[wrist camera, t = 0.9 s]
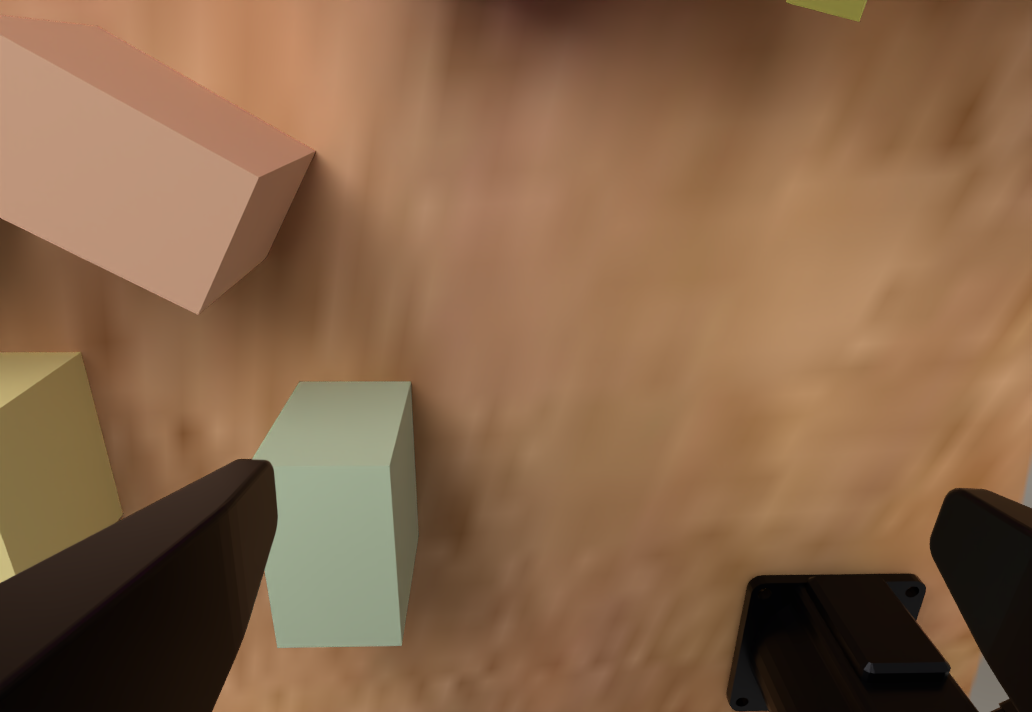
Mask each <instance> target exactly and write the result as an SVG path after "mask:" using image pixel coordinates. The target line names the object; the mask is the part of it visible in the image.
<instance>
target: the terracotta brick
mask: <svg viewBox="0 0 1032 712" xmlns="http://www.w3.org/2000/svg"><path fill="white" fill-rule="evenodd" d="M315 152H316V151H315V150H313V149H312V148H310V147H308V146H306V145H305V144H303V143H301V142H299V141H298V140H296V139H294V138H292V137H291V136H289V135H287V134H285V133H284V132H282V131H280V130H279V129H277V128H275V127H273V126H272V125H270V124H268V123H266V122H265V121H263V120H261V119H259V118H258V117H256V116H254V115H252V114H251V113H249V112H247V111H245V110H244V109H242V108H240V107H238V106H237V105H235V104H233V103H231V102H230V101H228V100H226V99H224V98H223V97H221V96H219V95H217V94H216V93H214V92H212V91H210V90H209V89H207V88H205V87H203V86H202V85H200V84H198V83H196V82H195V81H193V80H191V79H189V78H188V77H186V76H184V75H182V74H181V73H179V72H177V71H175V70H174V69H172V68H170V67H169V66H167V65H165V64H163V63H162V62H160V61H158V60H156V59H155V58H153V57H151V56H149V55H148V54H146V53H144V52H142V51H141V50H139V49H137V48H135V47H134V46H132V45H130V44H128V43H127V42H125V41H123V40H121V39H120V38H118V37H116V36H114V35H113V34H111V33H109V32H107V31H106V30H104V29H102V28H100V27H99V26H94V25H85V24H76V23H67V22H58V21H49V20H40V19H31V18H22V17H13V16H4V15H0V218H1V219H3V220H5V221H8V222H10V223H12V224H14V225H16V226H18V227H20V228H22V229H24V230H26V231H28V232H30V233H32V234H34V235H36V236H38V237H40V238H42V239H44V240H46V241H48V242H50V243H52V244H54V245H56V246H58V247H61V248H63V249H65V250H67V251H69V252H71V253H73V254H75V255H77V256H79V257H81V258H83V259H85V260H87V261H89V262H91V263H93V264H95V265H97V266H99V267H101V268H103V269H105V270H107V271H109V272H111V273H113V274H116V275H118V276H120V277H122V278H124V279H126V280H128V281H130V282H132V283H134V284H136V285H138V286H140V287H142V288H144V289H146V290H148V291H150V292H152V293H154V294H156V295H158V296H160V297H162V298H164V299H166V300H168V301H171V302H173V303H175V304H177V305H179V306H181V307H183V308H185V309H187V310H189V311H191V312H193V313H195V314H197V315H199V314H200V313H201V312H202V311H203V310H205V309H206V308H207V307H208V306H209V305H211V304H212V303H213V302H214V301H215V300H217V299H218V298H219V297H220V296H221V295H223V294H224V293H225V292H226V291H227V290H228V289H230V288H231V287H232V286H233V285H234V284H236V283H237V282H238V281H239V280H240V279H242V278H243V277H244V276H245V275H246V274H248V273H249V272H250V271H251V270H252V269H254V268H255V267H256V266H257V265H258V264H260V263H261V262H262V261H263V260H264V259H265V258H266V257H267V255H268V253H269V250H270V248H271V246H272V244H273V242H274V240H275V238H276V235H277V233H278V231H279V229H280V227H281V225H282V223H283V220H284V218H285V216H286V214H287V212H288V210H289V208H290V205H291V203H292V201H293V199H294V197H295V195H296V192H297V190H298V188H299V186H300V184H301V182H302V180H303V177H304V175H305V173H306V171H307V169H308V167H309V165H310V162H311V160H312V158H313V156H314V154H315Z"/></svg>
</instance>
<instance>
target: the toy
mask: <svg viewBox="0 0 1032 712" xmlns="http://www.w3.org/2000/svg"><path fill="white" fill-rule="evenodd" d="M866 2H867V0H786V3H789V4H793V5H797V6H801V7H804V8H808V9H812V10H816V11H820V12H823V13H827V14H831V15H835V16H839V17H842V18H846V19H850V20H854V21H858V22H859V21H860V19H861V16H862V13H863V10H864V8H865V5H866Z"/></svg>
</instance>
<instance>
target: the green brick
mask: <svg viewBox="0 0 1032 712" xmlns="http://www.w3.org/2000/svg"><path fill="white" fill-rule="evenodd" d="M252 459H257V460H268V461H269V462H270V463H271V464H272V466H273V469H274V475H275V487H276V498H277V510H278V523H277V529H276V534H275V537H274V540H273V544H272V547H271V550H270V554H269V557H268V560H267V564H266V567H265V576H266V582H267V588H268V594H269V600H270V606H271V612H272V618H273V624H274V630H275V636H276V642H277V648H298V647H358V646H402V641H403V635H404V628H405V622H406V615H407V609H408V602H409V596H410V589H411V583H412V576H413V570H414V563H415V557H416V550H417V544H418V537H419V530H418V511H417V491H416V472H415V452H414V433H413V413H412V394H411V382H299V383H298V385H297V386H296V388H295V390H294V391H293V393H292V394H291V396H290V398H289V399H288V401H287V403H286V404H285V406H284V408H283V409H282V411H281V412H280V414H279V416H278V417H277V419H276V421H275V422H274V424H273V426H272V427H271V429H270V430H269V432H268V434H267V435H266V437H265V439H264V440H263V442H262V443H261V445H260V447H259V448H258V450H257V452H256V453H255V455H254V457H253V458H252Z"/></svg>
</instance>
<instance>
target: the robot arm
mask: <svg viewBox="0 0 1032 712" xmlns="http://www.w3.org/2000/svg"><path fill="white" fill-rule="evenodd" d="M277 523H278V510H277V498H276V487H275V475H274V469H273V466H272V464H271V463H270V462H269V461H268V460H257V459H238V460H235V461H233V462H231V463H229V464H228V465H226V466H224V467H222V468H220V469H218V470H216V471H214V472H212V473H210V474H208V475H206V476H205V477H203V478H201V479H199V480H197V481H195V482H193V483H191V484H189V485H187V486H185V487H183V488H181V489H180V490H178V491H176V492H174V493H172V494H170V495H168V496H166V497H164V498H162V499H160V500H158V501H157V502H155V503H153V504H151V505H149V506H147V507H145V508H143V509H141V510H139V511H137V512H135V513H133V514H132V515H130V516H128V517H126V518H124V519H122V520H120V521H118V522H116V523H114V524H112V525H110V526H108V527H107V528H105V529H103V530H101V531H99V532H97V533H95V534H93V535H91V536H89V537H87V538H85V539H84V540H82V541H80V542H78V543H76V544H74V545H72V546H70V547H68V548H66V549H64V550H62V551H60V552H59V553H57V554H55V555H53V556H51V557H49V558H47V559H45V560H43V561H41V562H39V563H37V564H36V565H34V566H32V567H30V568H28V569H26V570H24V571H22V572H20V573H18V574H16V575H14V576H12V577H11V578H9V579H7V580H5V581H3V582H1V583H0V712H212V710H213V708H214V706H215V704H216V701H217V699H218V697H219V694H220V692H221V690H222V688H223V685H224V683H225V681H226V678H227V676H228V674H229V671H230V669H231V667H232V665H233V662H234V660H235V658H236V655H237V653H238V650H239V648H240V645H241V643H242V640H243V638H244V635H245V632H246V629H247V626H248V623H249V620H250V616H251V613H252V610H253V606H254V603H255V600H256V597H257V593H258V590H259V587H260V583H261V580H262V577H263V573H264V570H265V567H266V564H267V560H268V557H269V554H270V550H271V547H272V544H273V540H274V537H275V534H276V529H277ZM930 551H931V555H932V557H933V560H934V561H935V563H936V565H937V567H938V569H939V571H940V573H941V575H942V577H943V579H944V581H945V583H946V585H947V587H948V589H949V591H950V593H951V594H952V596H953V598H954V600H955V602H956V604H957V606H958V608H959V610H960V612H961V614H962V616H963V618H964V620H965V622H966V624H967V626H968V628H969V629H970V631H971V633H972V635H973V637H974V639H975V641H976V643H977V645H978V647H979V649H980V650H981V652H982V654H983V656H984V658H985V660H986V661H987V663H988V665H989V666H990V668H991V669H992V671H993V673H994V674H995V676H996V678H997V679H998V681H999V682H1000V684H1001V686H1002V687H1003V689H1004V690H1005V692H1006V693H1007V695H1008V697H1009V698H1010V699H1008V700H1006V701H1004V702H1002V703H999V705H1000V708H997V709H995V710H993V711H991V712H1032V508H1030V507H1027V506H1025V505H1022V504H1020V503H1017V502H1015V501H1013V500H1010V499H1008V498H1005V497H1003V496H1000V495H998V494H996V493H993V492H991V491H988V490H985V489H972V488H955V489H953V490H951V491H950V492H949V493H948V494H947V495H946V496H945V498H944V501H943V504H942V506H941V509H940V512H939V515H938V517H937V520H936V523H935V526H934V528H933V531H932V534H931V537H930ZM765 588H766V589H765ZM908 588H909V589H908ZM762 589H765V590H764V591H760V590H762ZM759 591H760V592H759ZM925 592H926V587H925V585H924V584H923V582H922V581H921V580H920V579H919V578H918V577H917V576H916V575H914V574H842V575H762V576H757V577H755V578H753V579H752V580H751V581H750V582H749V583H748V586H747V590H746V595H745V600H744V605H743V611H742V616H741V621H740V626H739V631H738V637H737V642H736V647H735V652H734V657H733V663H732V668H731V673H730V678H729V683H728V688H727V699H728V702H729V704H730V706H731V708H732V709H734V710H736V711H769V712H979V711H978V710H977V709H976V707H975V706H974V705H973V704H972V702H971V701H970V700H969V698H968V697H967V696H966V694H965V693H964V692H963V690H962V689H961V688H960V686H959V685H958V684H957V682H956V681H955V680H954V678H953V677H952V676H951V675H950V673H949V672H950V669H951V667H950V665H949V663H948V662H947V661H946V660H945V658H944V657H943V656H942V654H941V653H940V652H939V650H938V649H937V648H936V647H935V645H934V644H933V643H932V641H931V640H930V639H929V637H928V636H927V635H926V634H925V632H924V631H923V630H922V628H921V627H920V626H919V624H918V623H917V622H916V620H917V616H918V613H919V610H920V607H921V604H922V601H923V598H924V595H925Z"/></svg>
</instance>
